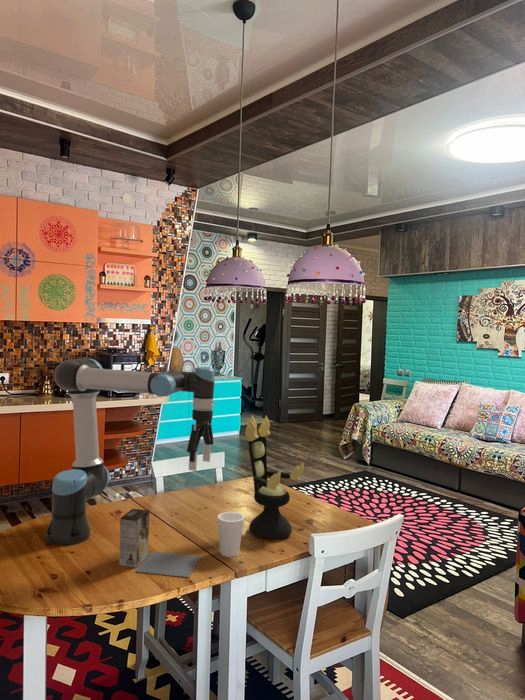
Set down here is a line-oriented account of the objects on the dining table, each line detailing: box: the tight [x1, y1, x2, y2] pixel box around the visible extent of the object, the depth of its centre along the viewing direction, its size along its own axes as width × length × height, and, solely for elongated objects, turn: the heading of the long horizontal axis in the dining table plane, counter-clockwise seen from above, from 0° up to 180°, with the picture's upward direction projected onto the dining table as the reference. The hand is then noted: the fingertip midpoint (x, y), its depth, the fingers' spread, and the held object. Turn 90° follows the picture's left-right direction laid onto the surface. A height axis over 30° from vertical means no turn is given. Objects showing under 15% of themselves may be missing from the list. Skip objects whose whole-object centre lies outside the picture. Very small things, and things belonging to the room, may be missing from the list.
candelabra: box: [244, 414, 305, 541], centre depth 202 cm, size 19×22×45 cm
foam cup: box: [216, 511, 246, 558], centre depth 182 cm, size 10×9×13 cm
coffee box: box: [118, 508, 150, 569], centre depth 173 cm, size 9×6×16 cm
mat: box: [135, 551, 201, 578], centre depth 172 cm, size 18×15×1 cm
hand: (199, 465), depth 193 cm, fingers open, 13 cm apart
